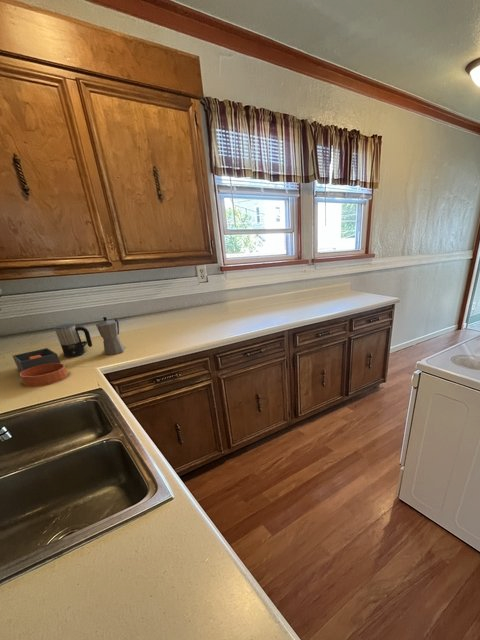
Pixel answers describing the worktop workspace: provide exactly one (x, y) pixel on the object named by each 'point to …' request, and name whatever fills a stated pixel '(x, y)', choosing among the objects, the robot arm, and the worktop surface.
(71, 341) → the milk frother
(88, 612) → the worktop surface
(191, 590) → the worktop surface
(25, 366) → the bin
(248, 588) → the worktop surface
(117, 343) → the coffeepot
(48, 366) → the bowl
